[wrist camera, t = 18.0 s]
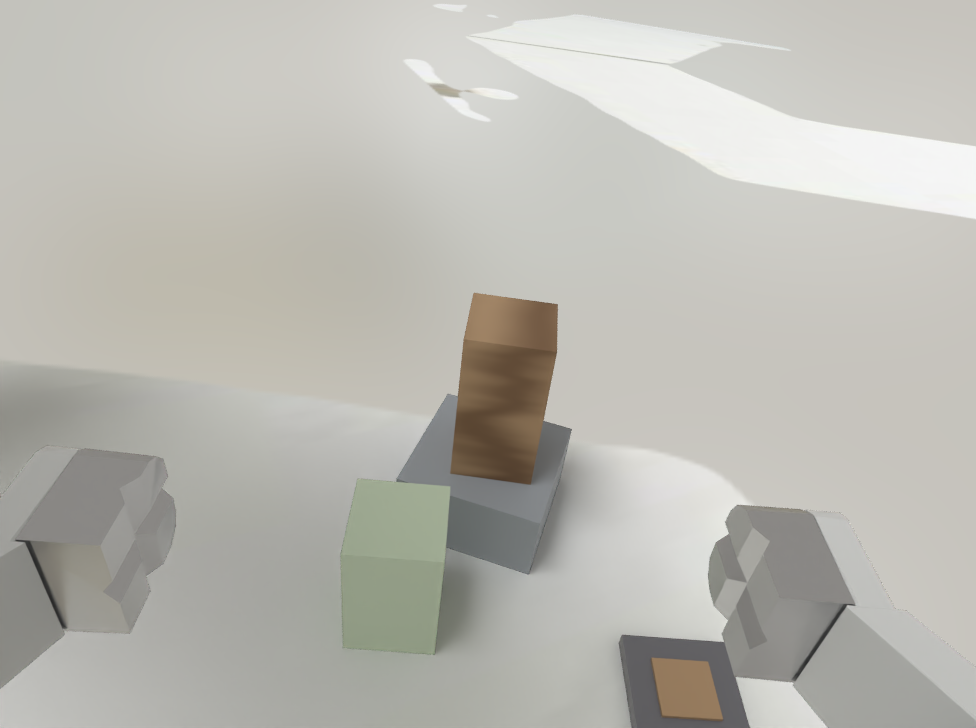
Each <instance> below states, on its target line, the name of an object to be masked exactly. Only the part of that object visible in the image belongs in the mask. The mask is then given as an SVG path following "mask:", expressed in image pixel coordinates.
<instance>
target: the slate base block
mask: <svg viewBox="0 0 976 728" xmlns="http://www.w3.org/2000/svg"><path fill="white" fill-rule="evenodd" d="M457 401H458V396H454V395H451V394H447V396H446V398H445V400H444V401H443V403H442V404H441V406H440V408H439V409H438V411H437V413H436V414H435V416H434V418H433V419H432V421H431V423H430V424H429V426H428V428H427V429H426V431H425V433H424V434H423V436H422V438H421V439H420V441H419V443H418V444H417V446H416V448H415V449H414V451H413V453H412V454H411V456H410V458H409V459H408V461H407V463H406V464H405V466H404V468H403V469H402V471H401V473H400V474H399V476H398V478H397V482H404V483H415V484H427V485H439V486H451V487H450V500H449V513H448V527H447V540H446V547H447V548H450V549H453V550H456V551H459V552H462V553H465V554H468V555H471V556H474V557H477V558H480V559H483V560H486V561H489V562H492V563H495V564H498V565H501V566H504V567H507V568H510V569H513V570H516V571H519V572H522V573H526V574H529V572H530V569H531V566H532V563H533V560H534V556H535V553H536V550H537V547H538V544H539V541H540V538H541V535H542V532H543V529H544V526H545V523H546V520H547V517H548V514H549V510H550V507H551V504H552V501H553V498H554V495H555V492H556V489H557V486H558V483H559V480H560V476H561V472H562V468H563V464H564V460H565V455H566V451H567V447H568V443H569V439H570V434H571V430H572V429H570V428H566V427H563V426H559V425H556V424H552V423H549V422H545V421H543V425H542V430H541V435H540V440H539V445H538V450H537V455H536V460H535V465H534V470H533V476H532V481H531V485H529V484H521V483H514V482H507V481H500V480H493V479H486V478H478V477H471V476H464V475H457V474H450V470H451V460H452V450H453V440H454V430H455V421H456V411H457Z"/></svg>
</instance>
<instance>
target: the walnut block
mask: <svg viewBox="0 0 976 728" xmlns="http://www.w3.org/2000/svg"><path fill="white" fill-rule="evenodd" d="M557 312H558V305H557V304H552V303H544V302H537V301H529V300H522V299H515V298H507V297H499V296H493V295H486V294H478V293H474V294H473V299H472V303H471V308H470V313H469V317H468V322H467V326H466V331H465V336H464V342H463V352H462V362H461V372H460V381H459V391H458V401H457V411H456V421H455V430H454V440H453V450H452V460H451V470H450V474H457V475H464V476H471V477H478V478H486V479H493V480H500V481H507V482H514V483H521V484H529V485H531V481H532V476H533V470H534V465H535V460H536V455H537V450H538V445H539V440H540V435H541V430H542V425H543V420H544V415H545V410H546V405H547V400H548V394H549V390H550V384H551V379H552V374H553V369H554V364H555V359H556V354H557V315H558V314H557Z"/></svg>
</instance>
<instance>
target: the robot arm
mask: <svg viewBox="0 0 976 728" xmlns="http://www.w3.org/2000/svg"><path fill="white" fill-rule="evenodd" d="M167 477H168V474H167V470H166V467H165V463H164V460H163V459H162V458H159V457H156V456H148V455H139V454H130V453H120V452H111V451H102V450H93V449H78V448H68V447H59V446H50V445H47V446H45V447H43V448H42V449H40V450H38V451H37V452H35V453H34V455H33V456H32V457H31V458H30V460H29V461H28V462H27V464H26V465H25V466H24V467H23V469H22V470H21V471H20V473H19V474H18V475H17V476H16V478H15V479H14V480H13V482H12V483H11V484H10V485H9V487H8V488H7V489H6V491H5V492H4V493H3V494H2V496H1V497H0V689H1V688H2V687H3V686H4V685H6V684H7V683H8V682H9V681H10V680H11V679H13V678H14V677H15V676H16V675H17V674H19V673H20V672H21V671H22V670H23V669H24V668H26V667H27V666H28V665H29V664H30V663H32V662H33V661H34V660H35V659H36V658H37V657H39V656H40V655H41V654H42V653H43V652H45V651H46V650H47V649H48V648H49V647H50V646H52V645H53V644H54V643H55V642H56V641H58V640H59V639H60V638H61V637H62V636H63V635H64V631H80V632H103V633H125V634H130V633H131V631H132V629H133V627H134V624H135V622H136V620H137V618H138V616H139V614H140V612H141V610H142V608H143V606H144V604H145V601H146V599H147V597H148V595H149V593H150V588H149V584H148V580H147V577H146V576H147V575H148V574H150V573H151V572H152V571H154V570H155V569H157V568H158V567H159V566H161V565H162V564H163V563H164V561H165V559H166V557H167V554H168V552H169V550H170V548H171V544H172V540H173V536H174V531H175V527H176V509H175V505H174V500H173V498H172V497H171V496H170V495H169V494H168V493H167V492H166V491H164V490H163V489H162V487H163V485H164V483H165V481H166V479H167ZM725 523H726V526H727V529H728V532H729V534H728V535H727V536H725V537H724V538H722V539H721V540H719V541H717V542H716V543H715V546H714V548H713V551H712V553H711V556H710V561H709V571H708V579H709V588H710V593H711V597H712V601H713V604H714V606H715V607H716V608H717V609H718V610H719V611H720V613H721V614H722V615H723V616H724V617H725V618H726V619H727V620H728V622H727V624H726V626H725V628H724V630H723V632H722V636H723V639H724V643H725V646H726V650H727V653H728V657H729V660H730V663H731V667H732V670H733V674H734V677H743V678H753V679H763V680H774V681H784V682H794V684H793V686H794V688H795V689H796V690H797V691H798V692H799V694H800V695H801V696H802V697H803V698H804V700H805V701H806V702H807V703H808V704H809V706H810V707H811V708H812V709H813V710H814V712H815V713H816V714H817V715H818V716H819V718H820V719H821V720H822V721H823V723H824V724H825V725H826V726H827V727H828V728H976V666H974V665H973V664H972V663H971V662H969V661H968V660H967V659H966V658H964V657H963V656H962V655H961V654H960V653H958V652H957V651H956V650H955V649H953V648H952V647H951V646H950V645H949V644H947V643H946V642H945V641H944V640H942V639H941V638H940V637H939V636H937V635H936V634H935V633H934V632H933V631H931V630H930V629H929V628H928V627H926V626H925V625H924V624H923V623H921V622H920V621H919V620H918V619H917V618H915V617H914V616H913V615H912V614H910V613H909V612H908V611H907V610H899V609H896V608H895V607H894V605H893V603H892V601H891V599H890V597H889V595H888V593H887V592H886V590H885V588H884V586H883V585H882V582H881V581H880V578H879V577H878V575H877V573H876V571H875V569H874V567H873V565H872V563H871V561H870V560H869V558H868V556H867V554H866V552H865V550H864V548H863V546H862V545H861V543H860V541H859V539H858V537H857V535H856V533H855V532H854V530H853V528H852V526H851V524H850V522H849V520H848V519H847V518H846V517H845V516H844V515H843V514H841V513H840V512H839V513H838V512H827V511H813V510H804V511H803V510H800V509H789V508H775V507H760V506H748V505H737V506H735V507H734V508H733V509H732V510H731V511H730V513H729V515H728V517H727V519H726V522H725Z"/></svg>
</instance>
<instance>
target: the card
mask: <svg viewBox="0 0 976 728" xmlns="http://www.w3.org/2000/svg"><path fill="white" fill-rule="evenodd" d="M619 646H620V653H621V660H622V666H623V673H624V679H625V686H626V692H627V699H628V705H629V712H630V718H631V725H632V728H750V727H749V724H748V720H747V717H746V713H745V710H744V706H743V703H742V699H741V696H740V692H739V689H738V686H737V682H736V679H735V677H734V674H733V670H732V667H731V663H730V660H729V657H728V653H727V650H726V646H725V643H724V642H713V641H699V640H686V639H672V638H658V637H645V636H631V635H622V636H621V639H620V641H619Z"/></svg>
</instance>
